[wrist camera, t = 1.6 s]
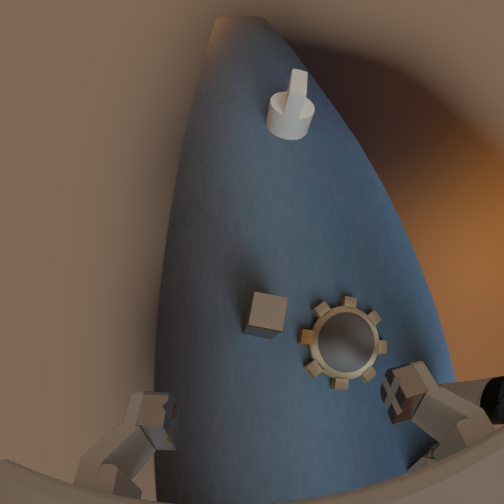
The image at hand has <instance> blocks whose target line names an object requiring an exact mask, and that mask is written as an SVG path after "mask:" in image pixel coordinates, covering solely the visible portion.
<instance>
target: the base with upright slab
mask: <svg viewBox="0 0 504 504" xmlns="http://www.w3.org/2000/svg"><path fill="white" fill-rule="evenodd" d="M307 73H308V72H305V71H302V70H297V69H292V73H291V77H290V81H289V85H288V89H287V92H279V93H276V94H274V95H273V96H272V97H271V99H270V104H269V109H268V114H267V119H266V126H267V128H268V129H269V131H270V132H271V133H273V134H274V135H276V136H277V137H279V138H283V139H287V140H297V139H301V138H302V137H304V136H305V135H306V134H307V131H308V128H309V125H310V122H311V120H312V117H313V114H314V110H315V109H314V105H313V104H312V102H311V101H310V100H309V99H307V98H306V93H307Z"/></svg>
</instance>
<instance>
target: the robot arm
mask: <svg viewBox="0 0 504 504" xmlns="http://www.w3.org/2000/svg"><path fill="white" fill-rule="evenodd" d="M385 376H386V379H385V380H384V381H383V382H382V385H381V398H382V401H383V403H384V404H385V405H386V406H388V407H389V409H388V412H387V413H388V415H389V417H390V419H391V422H392V424H397V423H400V422H404V421H407V420H411V421H412V422H413V423H415V424H416V425H417V426H418V427H420V428H421V429H422V430H424V431H425V432H426V433H428V434H429V435H430V436H431V437H433V438H434V439H435V440H437V441H438V442H439V443H441V444H440V445H439V446H438V447H437V448H436V450H435V451H434V453H433V456H434V458H435V461H436V462H434V463H432V464H429V465H427V466H424V467H422V468H419V469H417V470H414V471H412V472H409V473H406V474H403V475H401V476H398V477H395V478H392V479H389V480H386V481H383V482H379V483H376V484H373V485H369V486H365V487H362V488H358V489H354V490H350V491H346V492H341V493H337V494H332V495H327V496H322V497H317V498H311V499H305V500H298V501H290V502H282V503H272V504H504V426H502V427H501V428H499V429H497V430H495V428H494V427H493V425H492V423H491V421H490V420H489V418H488V416H487V415H486V413H485V411H484V410H483V409H482V408H480V407H478V406H477V405H475V404H473V403H471V402H469V401H467V400H465V399H463V398H462V397H460V396H458V395H456V394H454V393H452V392H450V391H449V390H447V389H445V388H443V387H441V388H439V386H438V385H437V383H436V381H435V380H434V378H433V377H432V375H431V373H430V372H429V370H428V369H427V367H426V365H425V364H424V362H422V361H417V362H413V363H410V364H409V363H408V364H405V365H401V366H397V367H393V368H390V369H388V370H387V371H386V374H385ZM179 426H180V412H179V408H178V406H177V404H175V403H174V396H173V394H172V393H166V392H148V391H133V392H132V394H131V396H130V399H129V403H128V406H127V410H126V413H125V417H124V421H123V424H119V425H117V426H116V427H115V428H114V429H113V430H112V431H111V432H109V433H108V434H107V435H106V436H105V437H104V438H103V439H101V440H100V441H99V442H98V443H97V444H96V445H95V446H93V447H92V448H91V449H90V450H89V451H88V452H87V453H85V454H84V455H83V456H82V457H81V459H80V462H79V466H78V469H77V473H76V476H75V480H74V483H73V484H70V483H68V482H65V481H61V480H58V479H55V478H53V477H50V476H47V475H44V474H42V473H39V472H36V471H34V470H31V469H29V468H26V467H24V466H22V465H20V464H17V463H15V462H13V461H10V460H7V459H3V460H0V504H173V503H163V502H155V501H147V500H141V490H140V488H139V487H138V486H136V485H135V484H134V483H133V482H132V481H131V480H132V479H133V477H134V476H135V475H136V474H137V473H138V471H139V470H140V469H141V468H142V467H143V465H144V464H145V463H146V462H147V461H148V459H149V458H150V457H151V456H152V455H153V453H154V452H155V451H156V450H155V449H158V450H177V443H178V435H177V433H176V430H177V429H178V428H179Z"/></svg>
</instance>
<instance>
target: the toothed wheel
mask: <svg viewBox="0 0 504 504" xmlns="http://www.w3.org/2000/svg"><path fill="white" fill-rule="evenodd" d="M356 305H357V298H354V297H348V296H344V297H343V298H342V299H341V306H340V307H336V308H333V309H330V307H329V306H328V305H327V303H326V302H325V301H324V302H322V303H321V304H320V305H318V306H317V307H316V308H314V309H313V310H312V312H313V314H314V315H315V316H316V318H317V321H316V322H315V323H314V325H313V327H312V329H311V330H308V329H301V330H300V333H299V340H298V344H303V345H309V353H310V356H311V359H312V361H311V362H309V363H308V364H307V365H305V366H304V368H305V369H306V371H307V372H308V374H309V375H310V376H311V378H312V377H316V376H317V375H318V374H320V373H321V372H322V373H323V374H325V375H326V376H328V377H331V378H332V384H331V389H341V390H347V389H348V382H349V379H353V378H356V377H358V376H359V377H360V378H361V380H362V381H363V382H369V381H370V380H371V379H372V378H373V377H374V376H375V375H376V374H377V373H376V371H375V370H374V368H373V367H372V365H373V363H374V361H375V359H376V357H377V354H386V353H387V341H385V340H379V336H378V332H377V329H376V327H375V325H377V324H378V323H379V322H380V321H381V320H382V319H381V318H380V317H379V315H378V314H377V312H376V311H375V310H373V311H371V312H369V313H368V314H366V313H364V312H363V311H361V310H359V309H357V308H356Z"/></svg>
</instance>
